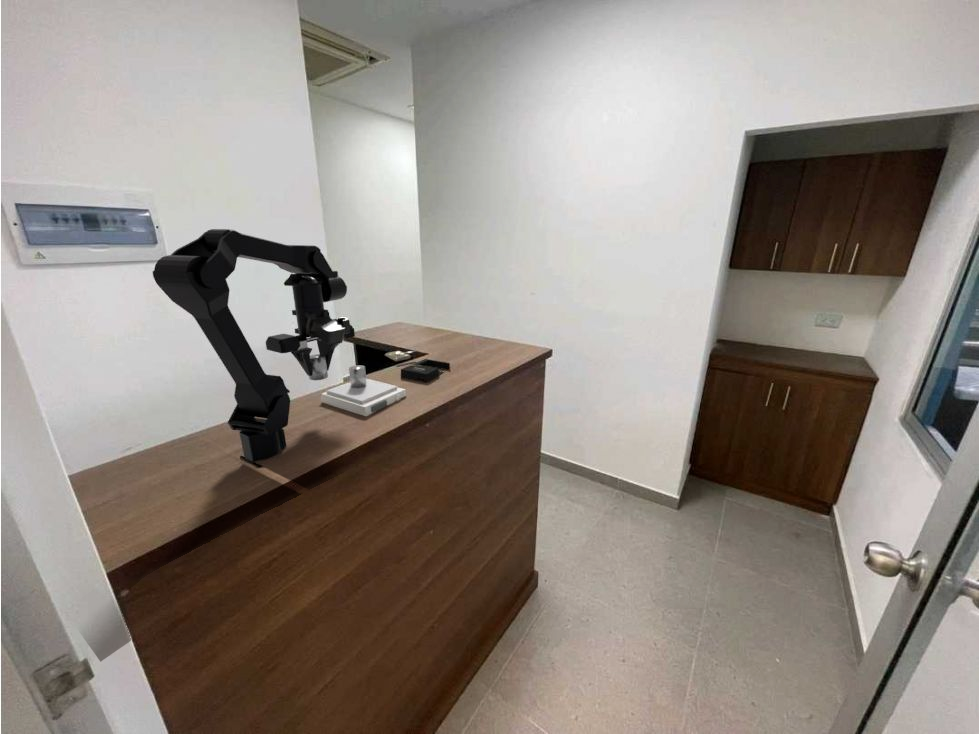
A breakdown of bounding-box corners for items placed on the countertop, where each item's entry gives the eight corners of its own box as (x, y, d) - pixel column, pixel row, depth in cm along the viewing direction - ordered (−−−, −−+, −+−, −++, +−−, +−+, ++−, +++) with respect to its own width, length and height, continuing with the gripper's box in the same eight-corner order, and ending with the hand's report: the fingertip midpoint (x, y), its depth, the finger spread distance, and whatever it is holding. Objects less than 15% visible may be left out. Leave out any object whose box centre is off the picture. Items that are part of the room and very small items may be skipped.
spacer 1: (318, 381, 86) (315, 360, 84) (305, 378, 87) (302, 357, 86) (331, 375, 89) (329, 355, 88) (318, 373, 91) (316, 353, 89)
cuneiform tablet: (396, 355, 126) (382, 348, 135) (398, 368, 127) (383, 360, 136) (416, 351, 130) (400, 344, 139) (417, 363, 131) (401, 356, 140)
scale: (367, 416, 91) (366, 404, 90) (321, 402, 99) (320, 390, 98) (407, 398, 102) (406, 386, 101) (363, 386, 110) (362, 375, 109)
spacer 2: (357, 389, 99) (356, 371, 98) (347, 386, 101) (345, 368, 100) (369, 384, 102) (368, 367, 101) (359, 381, 104) (357, 364, 103)
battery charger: (427, 387, 112) (426, 374, 110) (400, 381, 116) (400, 369, 114) (450, 374, 123) (450, 362, 121) (425, 370, 127) (425, 358, 125)
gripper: (292, 315, 72) (303, 392, 76) (368, 303, 87) (373, 368, 92) (258, 309, 77) (270, 382, 82) (335, 299, 92) (342, 361, 97)
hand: (318, 373), depth 88 cm, fingers closed on spacer 1, 4 cm apart
